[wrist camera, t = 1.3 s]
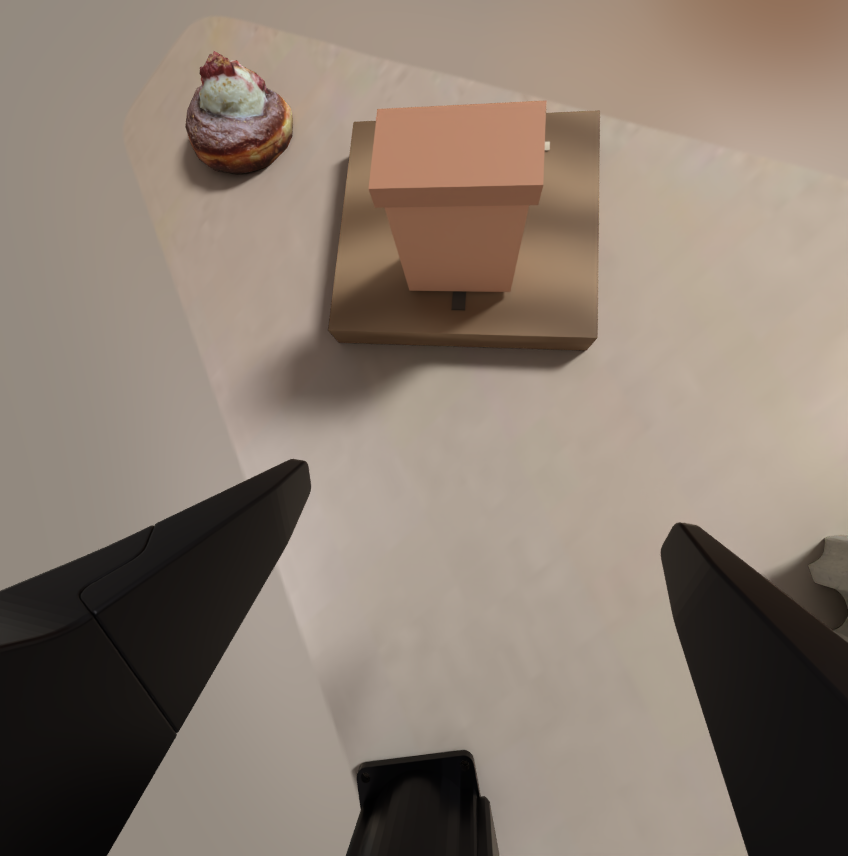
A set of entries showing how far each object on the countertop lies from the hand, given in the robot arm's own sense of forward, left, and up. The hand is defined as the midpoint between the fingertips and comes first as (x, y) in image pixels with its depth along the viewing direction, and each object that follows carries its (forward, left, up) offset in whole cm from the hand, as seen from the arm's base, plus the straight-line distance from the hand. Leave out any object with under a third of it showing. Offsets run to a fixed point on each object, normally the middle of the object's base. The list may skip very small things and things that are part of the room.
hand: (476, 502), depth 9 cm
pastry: (-12, +30, -14) cm, 35 cm away
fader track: (+3, +17, -14) cm, 22 cm away
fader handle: (+2, +13, -12) cm, 18 cm away
